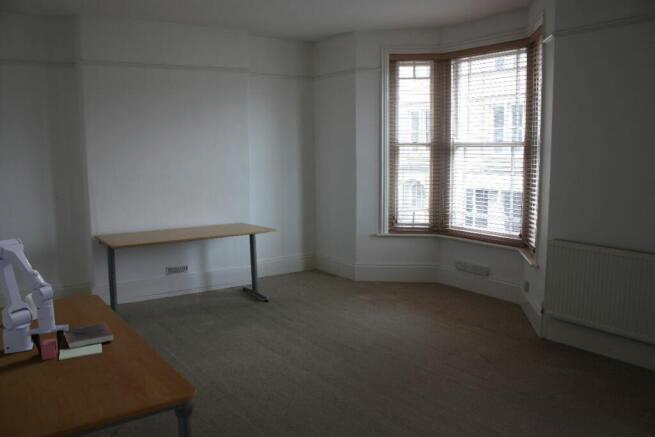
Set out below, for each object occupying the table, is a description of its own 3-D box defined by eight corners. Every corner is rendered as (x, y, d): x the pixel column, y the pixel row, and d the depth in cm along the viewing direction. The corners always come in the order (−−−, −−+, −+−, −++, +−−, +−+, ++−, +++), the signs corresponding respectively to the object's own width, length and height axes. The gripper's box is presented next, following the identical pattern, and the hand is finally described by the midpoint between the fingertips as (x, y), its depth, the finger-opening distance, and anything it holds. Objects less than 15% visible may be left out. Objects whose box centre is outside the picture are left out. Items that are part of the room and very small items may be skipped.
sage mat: (59, 360, 213) (59, 358, 213) (60, 351, 223) (60, 349, 222) (102, 353, 219) (102, 351, 219) (101, 344, 228) (101, 343, 228)
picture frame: (64, 335, 242) (69, 349, 223) (63, 329, 242) (68, 342, 223) (105, 327, 250) (113, 340, 231) (104, 322, 249) (113, 334, 231)
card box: (55, 358, 216) (53, 345, 215) (42, 360, 215) (40, 347, 214) (57, 350, 224) (56, 338, 224) (45, 352, 223) (43, 339, 222)
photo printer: (31, 321, 262) (28, 295, 260) (25, 320, 264) (22, 294, 262) (51, 315, 271) (48, 289, 269) (45, 314, 273) (42, 288, 271)
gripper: (23, 323, 211) (27, 358, 213) (66, 317, 216) (70, 351, 218) (25, 317, 217) (29, 351, 219) (67, 312, 223) (70, 345, 225)
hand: (49, 351), depth 219 cm, fingers open, 6 cm apart
